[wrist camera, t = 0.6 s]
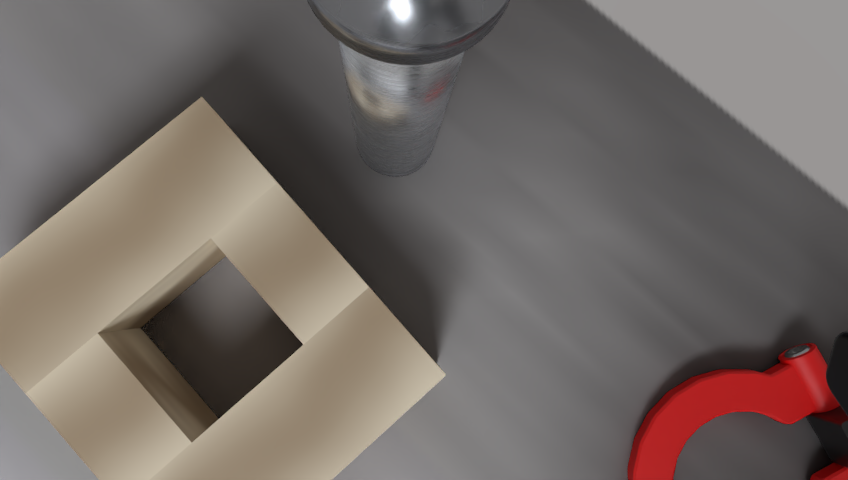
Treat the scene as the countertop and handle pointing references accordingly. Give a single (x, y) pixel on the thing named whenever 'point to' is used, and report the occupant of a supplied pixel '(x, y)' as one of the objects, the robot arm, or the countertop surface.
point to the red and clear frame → (744, 392)
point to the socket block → (163, 282)
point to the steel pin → (402, 69)
